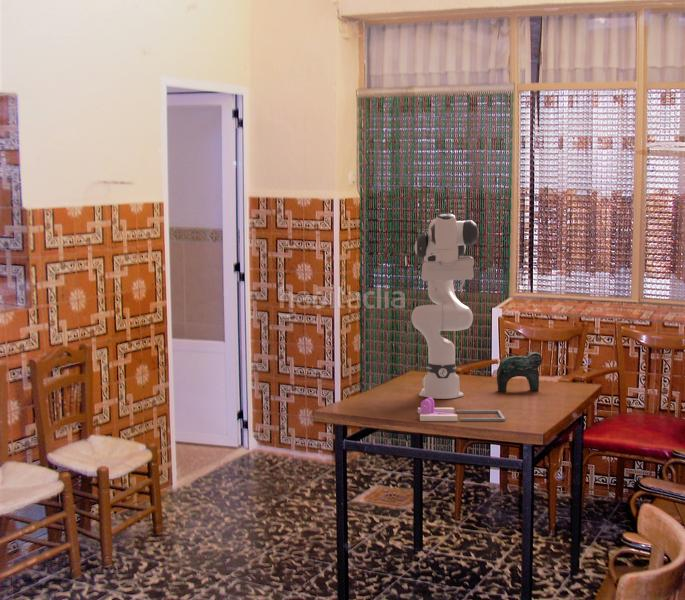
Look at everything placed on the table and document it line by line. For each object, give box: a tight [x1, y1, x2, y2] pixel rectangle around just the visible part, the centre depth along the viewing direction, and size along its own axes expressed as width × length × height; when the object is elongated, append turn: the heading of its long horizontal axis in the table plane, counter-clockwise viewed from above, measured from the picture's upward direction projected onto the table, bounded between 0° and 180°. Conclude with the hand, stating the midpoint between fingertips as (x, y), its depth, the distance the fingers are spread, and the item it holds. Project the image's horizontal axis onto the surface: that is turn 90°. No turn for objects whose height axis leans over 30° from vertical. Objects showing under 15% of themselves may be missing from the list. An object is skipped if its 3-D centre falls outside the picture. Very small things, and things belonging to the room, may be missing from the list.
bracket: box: [420, 397, 453, 414], centre depth 376 cm, size 13×6×7 cm, turn 68°
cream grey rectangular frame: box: [417, 406, 506, 422], centre depth 376 cm, size 15×32×2 cm, turn 89°
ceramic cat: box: [496, 344, 543, 393], centre depth 427 cm, size 20×6×20 cm, turn 97°
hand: (448, 291), depth 380 cm, fingers open, 8 cm apart
